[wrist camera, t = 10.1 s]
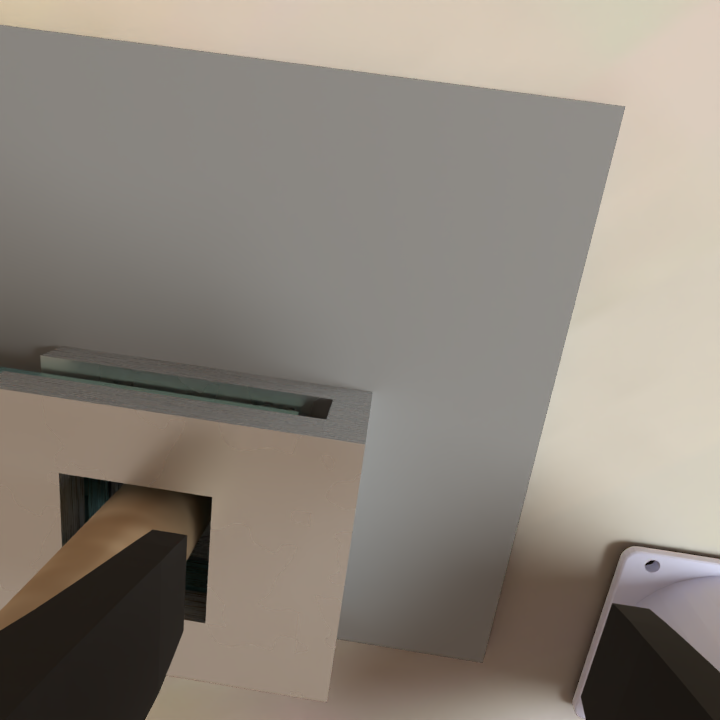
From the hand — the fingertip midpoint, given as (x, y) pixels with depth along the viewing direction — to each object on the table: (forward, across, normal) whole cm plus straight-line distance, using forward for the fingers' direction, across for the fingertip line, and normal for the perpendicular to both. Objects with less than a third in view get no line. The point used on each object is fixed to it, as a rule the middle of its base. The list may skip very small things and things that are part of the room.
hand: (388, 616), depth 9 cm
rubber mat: (+10, +6, 0) cm, 12 cm away
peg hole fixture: (+9, +8, +4) cm, 13 cm away
